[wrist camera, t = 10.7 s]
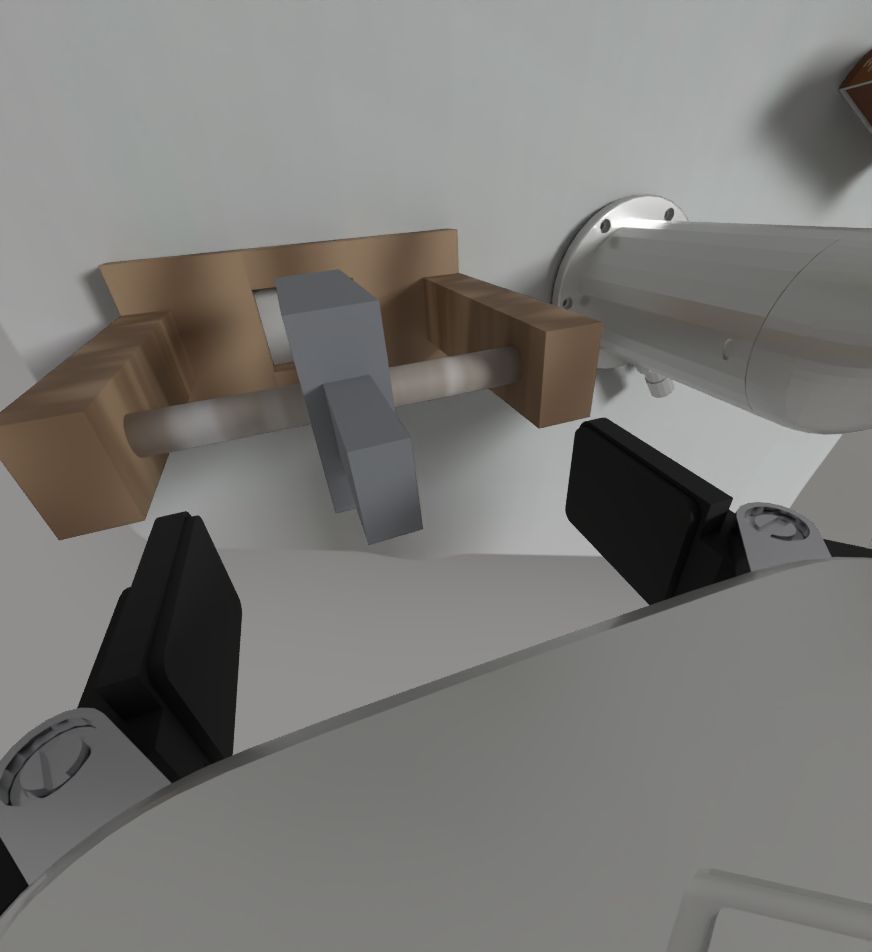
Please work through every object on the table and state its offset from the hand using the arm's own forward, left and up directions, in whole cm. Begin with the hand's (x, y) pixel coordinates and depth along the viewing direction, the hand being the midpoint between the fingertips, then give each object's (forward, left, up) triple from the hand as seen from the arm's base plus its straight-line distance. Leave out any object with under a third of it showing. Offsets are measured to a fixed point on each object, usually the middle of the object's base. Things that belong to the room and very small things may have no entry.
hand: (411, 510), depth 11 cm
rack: (0, 0, -22) cm, 22 cm away
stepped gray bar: (0, 0, -14) cm, 14 cm away
